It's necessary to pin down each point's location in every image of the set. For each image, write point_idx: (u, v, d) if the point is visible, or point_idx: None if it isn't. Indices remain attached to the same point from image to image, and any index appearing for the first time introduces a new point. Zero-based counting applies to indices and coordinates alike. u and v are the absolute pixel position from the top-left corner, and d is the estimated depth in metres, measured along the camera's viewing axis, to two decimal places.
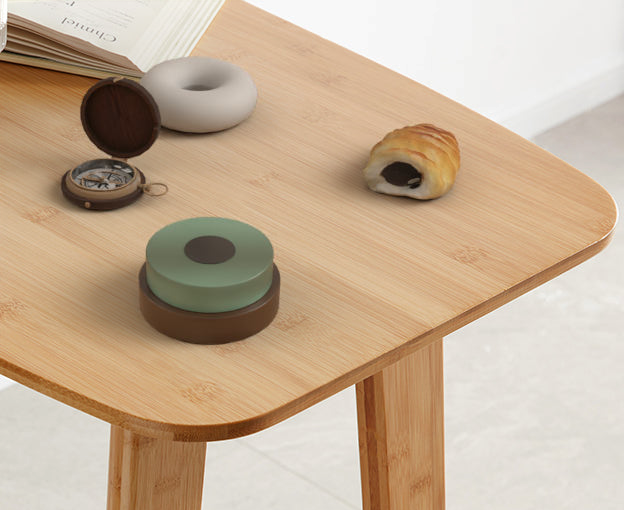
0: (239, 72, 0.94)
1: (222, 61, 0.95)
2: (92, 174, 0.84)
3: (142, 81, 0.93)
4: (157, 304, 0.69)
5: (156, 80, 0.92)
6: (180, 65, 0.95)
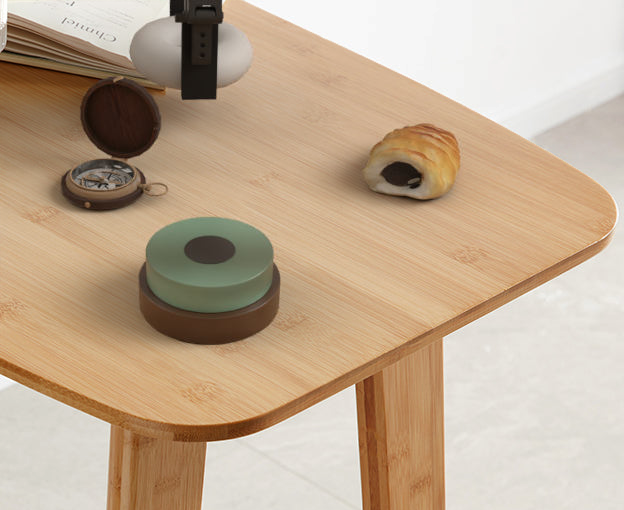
0: (234, 31, 0.92)
1: None
2: (92, 174, 0.84)
3: (135, 38, 0.90)
4: (157, 304, 0.69)
5: (150, 36, 0.90)
6: (174, 23, 0.93)
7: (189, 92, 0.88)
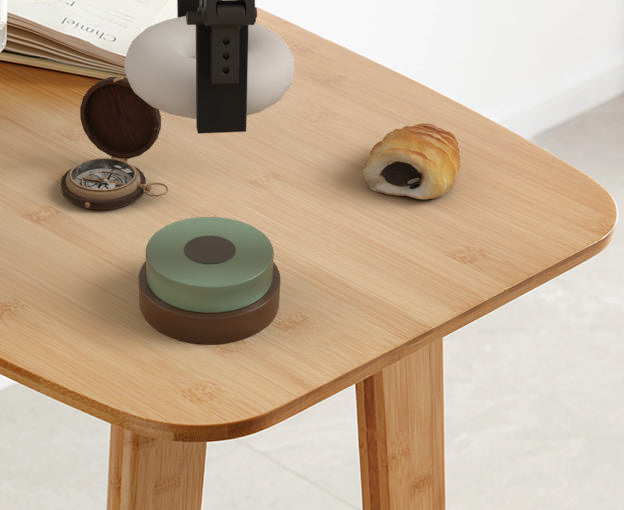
0: (269, 35, 0.67)
1: None
2: (92, 174, 0.84)
3: (132, 48, 0.65)
4: (157, 304, 0.69)
5: (152, 45, 0.64)
6: (185, 26, 0.67)
7: (208, 122, 0.62)
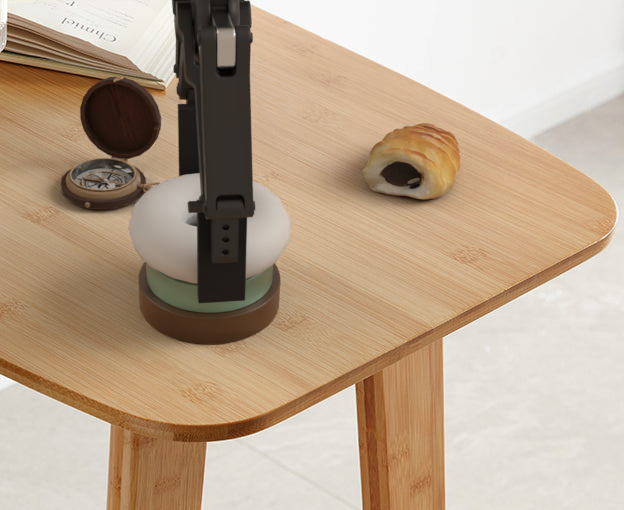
0: (267, 198, 0.70)
1: None
2: (92, 174, 0.84)
3: (136, 212, 0.69)
4: (157, 304, 0.69)
5: (155, 212, 0.68)
6: (187, 187, 0.71)
7: (208, 293, 0.65)
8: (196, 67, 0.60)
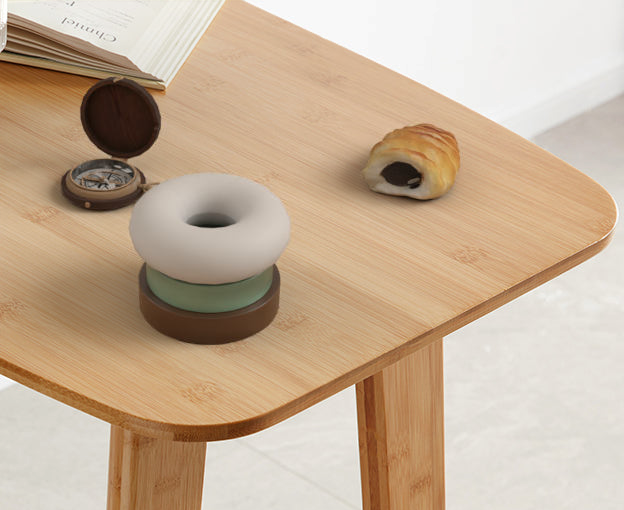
0: (267, 198, 0.70)
1: (243, 180, 0.71)
2: (92, 174, 0.84)
3: (136, 212, 0.69)
4: (157, 304, 0.69)
5: (155, 212, 0.68)
6: (187, 187, 0.71)
7: None
8: None
